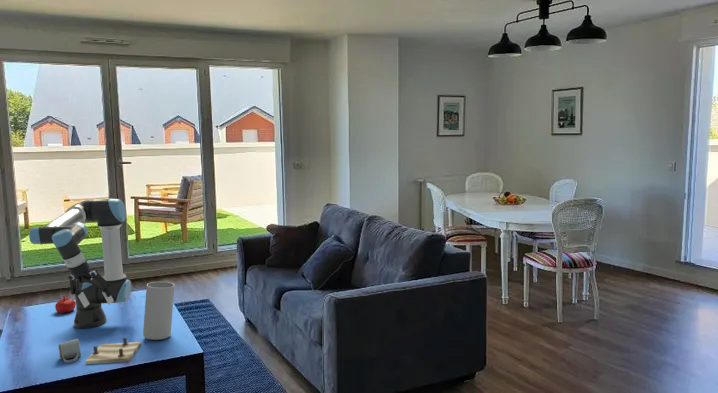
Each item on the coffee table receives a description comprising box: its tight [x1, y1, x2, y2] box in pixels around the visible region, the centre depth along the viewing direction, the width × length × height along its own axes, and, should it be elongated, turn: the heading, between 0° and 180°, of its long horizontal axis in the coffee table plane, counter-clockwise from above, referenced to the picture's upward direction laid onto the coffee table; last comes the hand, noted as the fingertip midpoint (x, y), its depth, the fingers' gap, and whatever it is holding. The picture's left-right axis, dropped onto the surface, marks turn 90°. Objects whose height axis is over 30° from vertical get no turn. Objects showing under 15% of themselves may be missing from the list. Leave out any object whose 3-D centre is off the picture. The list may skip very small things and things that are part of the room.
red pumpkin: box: [54, 294, 76, 314], centre depth 301 cm, size 10×10×9 cm
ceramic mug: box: [58, 338, 82, 364], centre depth 238 cm, size 11×8×8 cm
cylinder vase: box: [142, 281, 175, 341], centre depth 260 cm, size 12×12×25 cm
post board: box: [85, 337, 142, 365], centre depth 242 cm, size 18×18×4 cm
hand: (99, 304), depth 240 cm, fingers open, 13 cm apart
